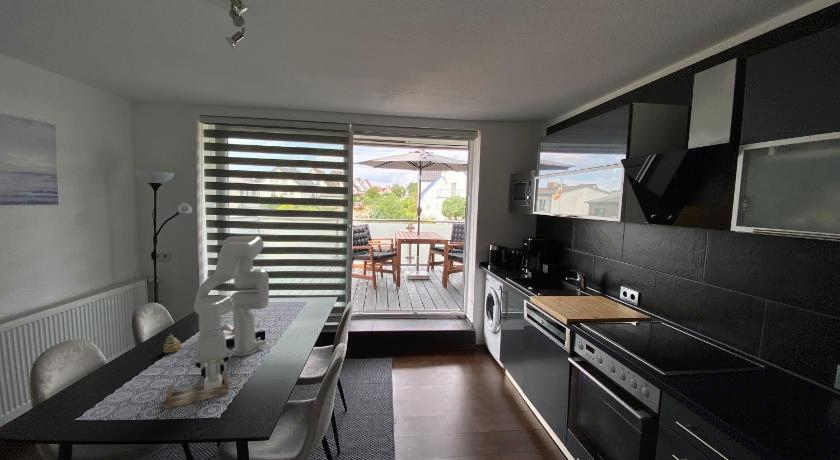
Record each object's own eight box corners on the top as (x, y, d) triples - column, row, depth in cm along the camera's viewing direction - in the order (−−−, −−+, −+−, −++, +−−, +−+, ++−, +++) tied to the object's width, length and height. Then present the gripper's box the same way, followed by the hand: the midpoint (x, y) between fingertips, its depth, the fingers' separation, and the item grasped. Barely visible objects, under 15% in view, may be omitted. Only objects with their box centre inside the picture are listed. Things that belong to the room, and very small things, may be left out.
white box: (226, 373, 148) (226, 356, 147) (227, 380, 142) (226, 362, 141) (205, 378, 143) (204, 360, 143) (205, 385, 137) (204, 367, 137)
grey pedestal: (221, 378, 138) (220, 353, 137) (222, 386, 132) (221, 359, 131) (204, 382, 135) (203, 356, 134) (204, 390, 129) (203, 363, 128)
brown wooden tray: (227, 382, 140) (227, 372, 140) (228, 392, 132) (228, 382, 132) (169, 397, 129) (168, 386, 129) (166, 409, 122) (165, 397, 121)
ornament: (168, 348, 172) (167, 330, 171) (182, 346, 174) (181, 328, 173) (162, 355, 165) (160, 336, 164) (176, 353, 167) (175, 334, 166)
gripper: (234, 324, 139) (236, 365, 141) (185, 333, 130) (188, 377, 132) (235, 330, 133) (237, 373, 134) (184, 340, 124) (186, 385, 125)
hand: (213, 374), depth 133 cm, fingers open, 5 cm apart
